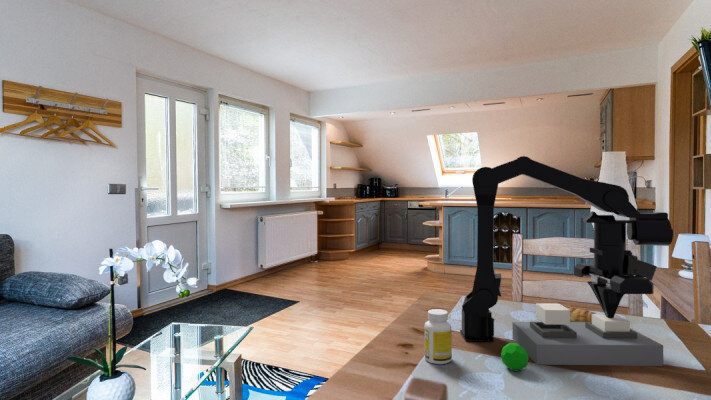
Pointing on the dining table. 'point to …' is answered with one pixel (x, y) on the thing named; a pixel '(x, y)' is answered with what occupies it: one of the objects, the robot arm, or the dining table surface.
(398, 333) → the dining table surface
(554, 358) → the panel
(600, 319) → the button
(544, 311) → the button
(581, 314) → the pastry
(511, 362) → the polyhedron
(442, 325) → the supplement bottle
